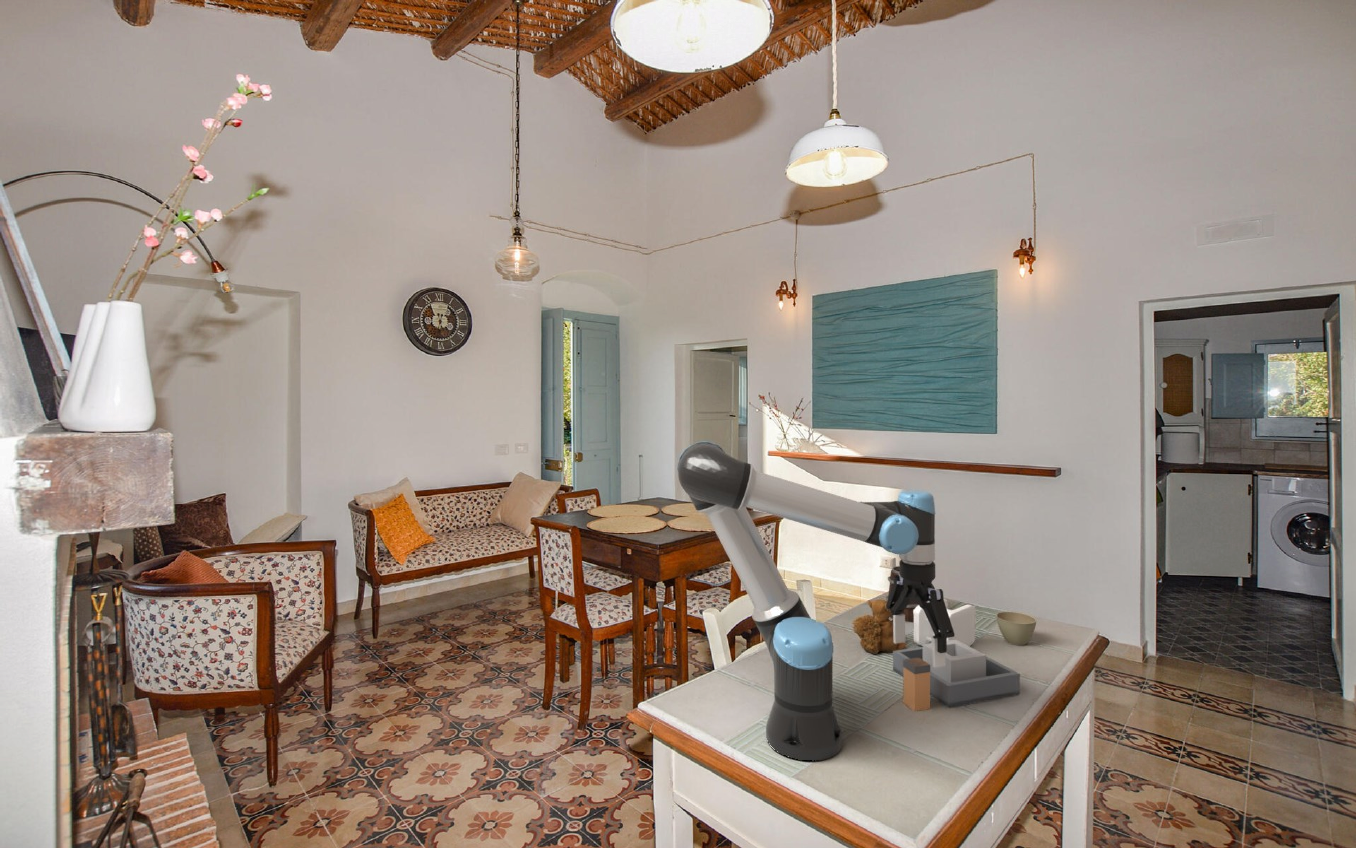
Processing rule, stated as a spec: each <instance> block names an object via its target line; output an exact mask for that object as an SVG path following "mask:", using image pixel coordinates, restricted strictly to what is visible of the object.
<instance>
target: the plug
mask: <svg viewBox="0 0 1356 848" xmlns="http://www.w3.org/2000/svg"><path fill="white" fill-rule="evenodd" d="M902 679H903V681H902V682H903V683H902V684H903V688H902V689H903V690H902V691H903V692H902V693H903V694H902V696H903V697H902V698H903V701H902V702H903V704H904V705H905V706H907V707H908V708H910V710H912V711H913V712H919V711H924V710H928V709H929V710H930V709H931V696H930V664H928V663H927V662H925V661H923V660H922V659H920V658H919V657H918V658H911V659H905V660H903V677H902Z"/></svg>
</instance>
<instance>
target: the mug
mask: <svg viewBox="0 0 1356 848" xmlns="http://www.w3.org/2000/svg"><path fill="white" fill-rule="evenodd" d="M897 574H900V569H899V565H898V566H894V567H892V568H891V570H890V574H889V575H890V576H888V577H887V581H888V582H889V587H888V588H889V589H888V595H886V597H885V601H888V598H889V595H890V592H891V589H892V586H893V583H894V575H897ZM932 588H933V589H936V587H935V586H934V584H933V583H932ZM927 602H929V600H928V601H927ZM893 603H894V602H893ZM918 605H919V604H917V603H916V602H915V601H910V603H909V604H908V605H907V607H906V608H905V609H904V611H903V612H905V613H901V614H904V615H905V622H909V623H911V622H913V623H914V614H913V610H915V608H916V607H917V606H918ZM889 618H891V619H892V613H891V614H890V617H889Z"/></svg>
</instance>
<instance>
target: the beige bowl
mask: <svg viewBox="0 0 1356 848" xmlns="http://www.w3.org/2000/svg"><path fill="white" fill-rule="evenodd" d="M995 616H996V622H997V625H998V626H997V627H998V629H999V630H1000V633H1001V636H1002V637H1003V638H1004V640H1005V642H1006V643H1008V644H1011V645H1014V646H1025V645H1027V644H1028V642H1030V640H1031V638H1032V636H1033V634H1034V632H1035V629H1036V625H1037V619H1036V618H1035V617H1034V616H1032V615H1030V614H1027V613H1023V612H1016V611H1015V612H1014V611H1000V612H999V611H998V612H997V613H996V615H995Z"/></svg>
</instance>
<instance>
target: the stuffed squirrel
mask: <svg viewBox="0 0 1356 848" xmlns="http://www.w3.org/2000/svg"><path fill="white" fill-rule="evenodd" d="M886 604H887V600H886V599H875V600H873V601H872V600H867V605H868V606H869V608H870V609H871V612H872V614H871V615H870V614H864V615H863V616H858V617H855V619H854V620H853V621H852V622H851V624H852V625H853V626H852V629H853V632H854V633H856V634H857V636H858V637H859V639H860V646H861V648H862V649H864V650H865V651H866V652H869V653H871V654H874V655H877V654H878V653H879V652H883V653H885V652H886V653H893V651H897V650H904V649H907V644H906V642H903V643H897V644H895V643H894V640H893V619H892V620H891V619H890V618H891V617H890V614H891V610H890V609H887V608H886Z"/></svg>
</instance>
